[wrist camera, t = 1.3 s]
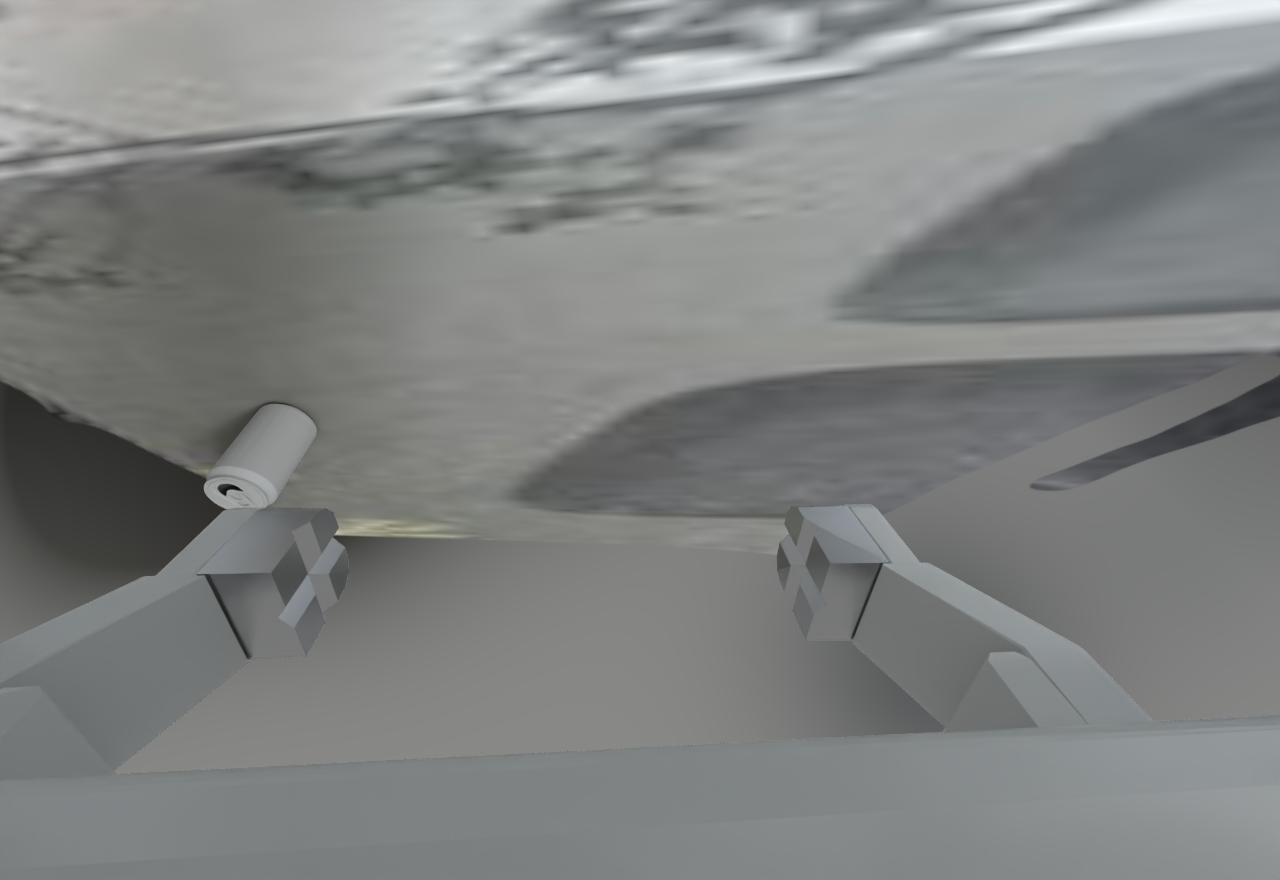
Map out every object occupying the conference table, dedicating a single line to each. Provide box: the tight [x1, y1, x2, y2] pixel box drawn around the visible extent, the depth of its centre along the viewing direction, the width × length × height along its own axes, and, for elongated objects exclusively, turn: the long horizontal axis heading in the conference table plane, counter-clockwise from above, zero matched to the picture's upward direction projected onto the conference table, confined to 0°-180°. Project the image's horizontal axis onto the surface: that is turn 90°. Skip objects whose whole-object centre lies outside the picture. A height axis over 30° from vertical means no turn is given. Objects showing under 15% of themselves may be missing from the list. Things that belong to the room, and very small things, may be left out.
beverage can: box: [204, 404, 317, 509], centre depth 56 cm, size 6×6×12 cm
